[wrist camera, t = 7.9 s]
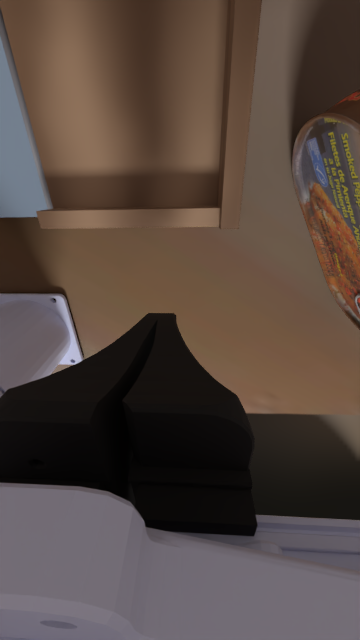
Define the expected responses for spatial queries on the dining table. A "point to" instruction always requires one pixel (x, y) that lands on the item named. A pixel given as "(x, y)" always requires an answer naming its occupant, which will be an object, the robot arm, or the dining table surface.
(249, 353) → the dining table surface
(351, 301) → the tin
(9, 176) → the panel
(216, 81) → the light wood shallow box
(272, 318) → the dining table surface
